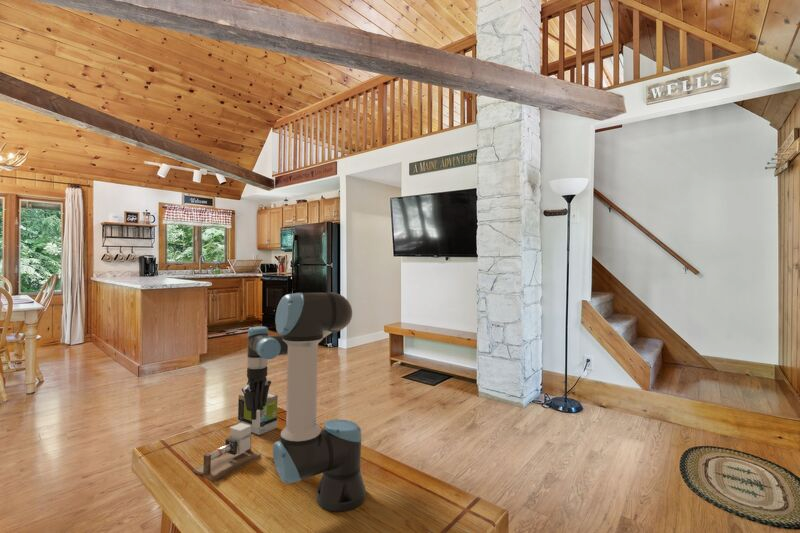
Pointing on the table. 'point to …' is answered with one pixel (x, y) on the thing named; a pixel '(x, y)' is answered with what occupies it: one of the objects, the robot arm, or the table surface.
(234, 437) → the sleeve
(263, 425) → the tea box
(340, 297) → the robot arm
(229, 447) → the pipe
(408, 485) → the table surface
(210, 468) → the board
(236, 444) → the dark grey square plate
